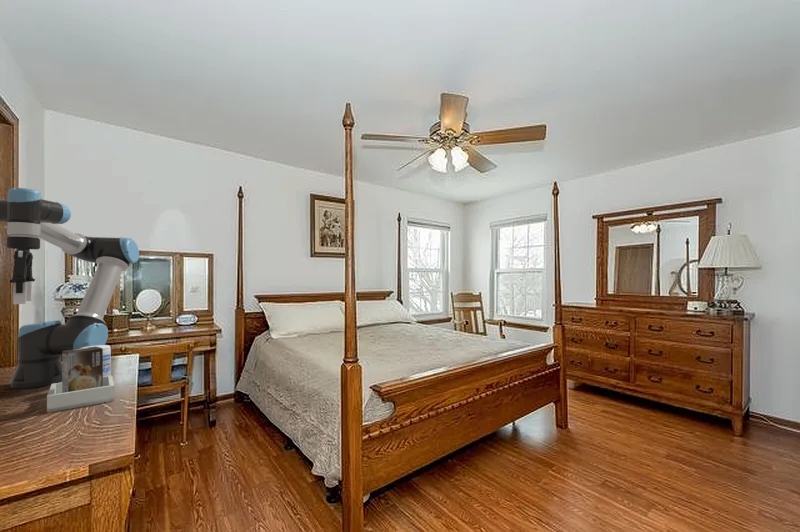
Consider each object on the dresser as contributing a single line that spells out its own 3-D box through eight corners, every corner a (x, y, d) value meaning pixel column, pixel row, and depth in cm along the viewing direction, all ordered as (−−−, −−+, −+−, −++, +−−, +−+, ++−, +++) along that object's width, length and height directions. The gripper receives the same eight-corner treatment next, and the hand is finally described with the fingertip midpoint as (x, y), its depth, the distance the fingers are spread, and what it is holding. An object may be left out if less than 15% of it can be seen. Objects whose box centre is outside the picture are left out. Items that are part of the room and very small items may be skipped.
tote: (51, 398, 122) (51, 383, 122) (112, 388, 132) (112, 375, 132) (46, 412, 110) (47, 396, 110) (114, 400, 120) (114, 385, 120)
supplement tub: (108, 388, 133) (109, 348, 133) (74, 393, 128) (75, 351, 128) (111, 381, 141) (112, 343, 141) (79, 385, 136) (80, 346, 136)
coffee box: (96, 392, 125) (97, 345, 126) (103, 396, 122) (104, 348, 122) (61, 400, 118) (61, 350, 118) (67, 404, 114) (67, 353, 114)
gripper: (13, 238, 125) (12, 300, 124) (-1, 232, 105) (-3, 306, 105) (44, 239, 129) (43, 299, 129) (35, 234, 110) (34, 304, 110)
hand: (22, 302), depth 117 cm, fingers open, 13 cm apart
